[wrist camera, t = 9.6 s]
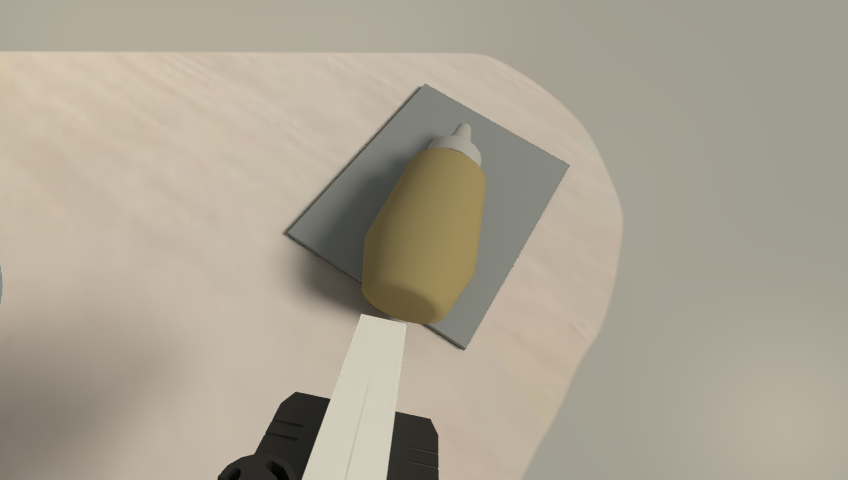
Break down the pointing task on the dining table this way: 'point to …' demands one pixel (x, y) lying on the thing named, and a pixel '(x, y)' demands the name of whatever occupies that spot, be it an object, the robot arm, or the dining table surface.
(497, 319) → the dining table surface
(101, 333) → the dining table surface
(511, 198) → the rubber mat
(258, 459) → the robot arm
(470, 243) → the squeeze bottle
